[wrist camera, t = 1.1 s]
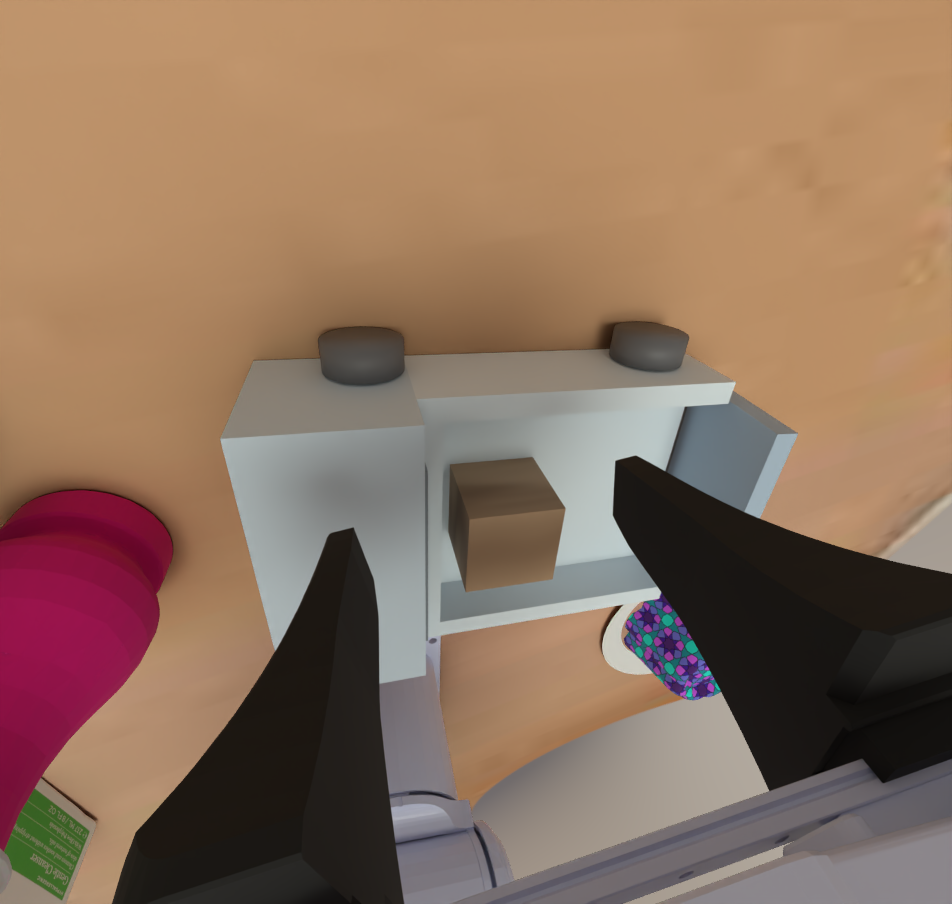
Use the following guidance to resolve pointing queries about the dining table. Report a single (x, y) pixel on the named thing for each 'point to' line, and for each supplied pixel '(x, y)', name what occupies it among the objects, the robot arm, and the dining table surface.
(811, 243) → the dining table surface
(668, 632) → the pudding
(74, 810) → the skincare box
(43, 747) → the pepper mill
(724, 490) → the panel
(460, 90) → the dining table surface
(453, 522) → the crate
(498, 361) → the ute bed
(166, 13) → the dining table surface
